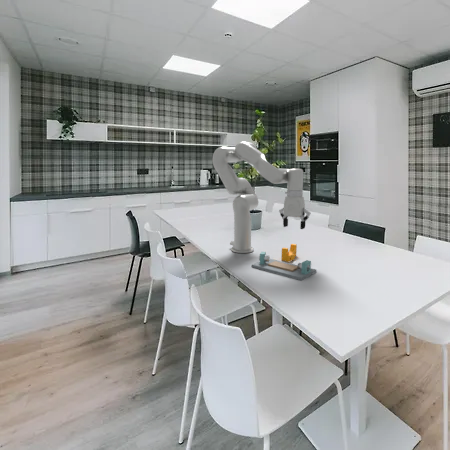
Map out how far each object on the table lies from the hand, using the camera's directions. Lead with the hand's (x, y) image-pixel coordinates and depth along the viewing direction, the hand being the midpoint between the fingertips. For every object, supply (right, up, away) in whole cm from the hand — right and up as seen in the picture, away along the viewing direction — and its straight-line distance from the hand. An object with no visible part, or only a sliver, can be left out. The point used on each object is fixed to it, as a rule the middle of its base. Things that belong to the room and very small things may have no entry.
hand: (293, 227), depth 156 cm
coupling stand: (-8, -19, -14) cm, 25 cm away
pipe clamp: (-1, -16, +4) cm, 17 cm away
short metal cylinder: (-16, -16, -8) cm, 24 cm away
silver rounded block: (-1, -19, -21) cm, 28 cm away
